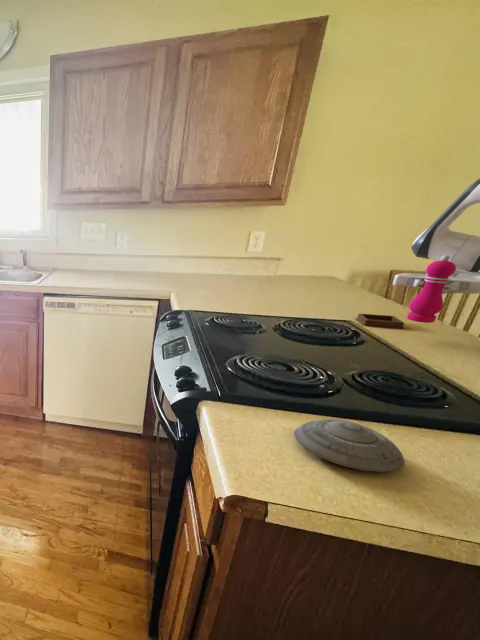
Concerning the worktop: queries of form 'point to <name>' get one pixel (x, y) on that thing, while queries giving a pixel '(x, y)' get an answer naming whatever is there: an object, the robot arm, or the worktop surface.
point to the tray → (380, 320)
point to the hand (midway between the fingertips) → (433, 286)
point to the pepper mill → (431, 291)
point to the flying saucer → (349, 445)
